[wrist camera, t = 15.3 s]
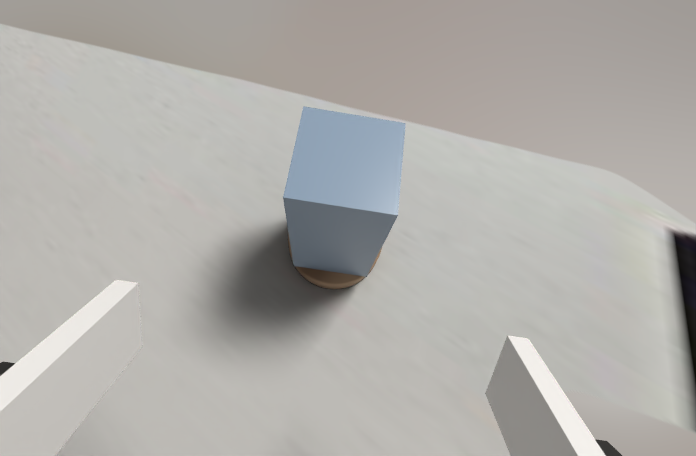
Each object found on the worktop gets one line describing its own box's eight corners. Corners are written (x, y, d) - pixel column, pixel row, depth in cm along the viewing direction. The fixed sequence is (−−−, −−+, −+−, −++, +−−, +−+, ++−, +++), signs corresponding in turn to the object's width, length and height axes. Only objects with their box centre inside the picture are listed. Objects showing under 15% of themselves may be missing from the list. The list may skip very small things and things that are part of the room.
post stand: (270, 251, 33) (258, 211, 25) (327, 189, 35) (331, 138, 28) (342, 308, 31) (351, 284, 24) (395, 239, 34) (418, 199, 27)
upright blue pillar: (293, 265, 30) (283, 197, 19) (306, 200, 33) (303, 106, 22) (366, 276, 30) (397, 215, 19) (373, 211, 33) (405, 123, 22)
